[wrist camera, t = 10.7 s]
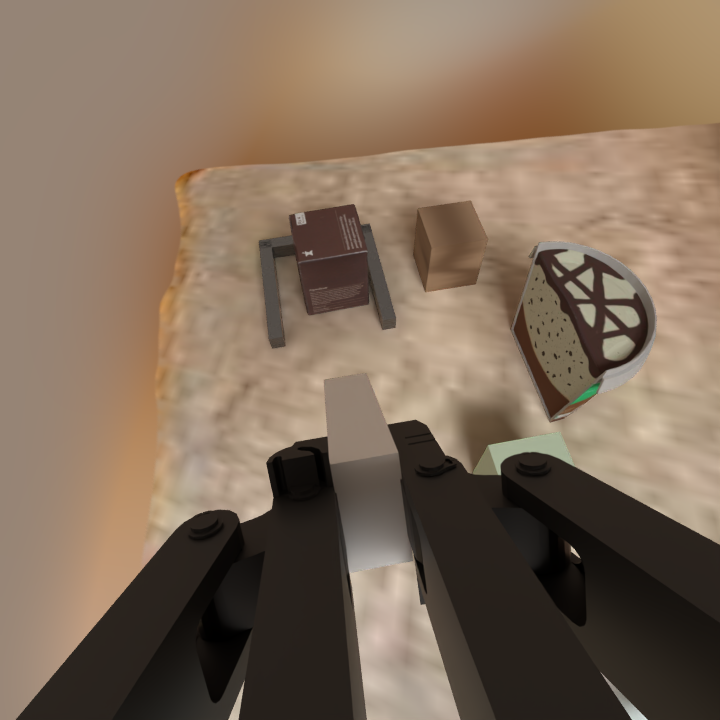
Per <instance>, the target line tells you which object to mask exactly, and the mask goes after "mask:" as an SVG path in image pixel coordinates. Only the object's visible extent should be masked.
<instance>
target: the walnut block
mask: <svg viewBox="0 0 720 720" xmlns="http://www.w3.org/2000/svg"><path fill="white" fill-rule="evenodd" d="M487 241H488V238H487V236H486V234H485V231H484V229H483V227H482V225H481V222H480V220H479V218H478V216H477V213H476V211H475V209H474V207H473V204H472V202H471V201H465V202H458V203H452V204H445V205H438V206H431V207H425V208H418V212H417V223H416V233H415V244H414V254H413V255H414V258H415V261H416V264H417V267H418V270H419V273H420V276H421V280H422V283H423V286H424V289H425V292H430V291H436V290H442V289H448V288H455V287H461V286H467V285H473V284H476V281H477V277H478V274H479V270H480V266H481V263H482V259H483V256H484V252H485V248H486V245H487Z"/></svg>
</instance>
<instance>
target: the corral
mask: <svg viewBox="0 0 720 720" xmlns="http://www.w3.org/2000/svg"><path fill="white" fill-rule="evenodd" d="M361 228H362V231H363V235H364V238H365V242H366V246H367V250H368V255H367V259H368V275H369V279H370V283H371V287H372V290H373V294H374V298H375V302H376V306H377V310H378V314H379V318H380V322H381V326H382V329H383V330H384V329H390V328H395V325H396V316H395V313H394V309H393V306H392V302H391V299H390V295H389V291H388V288H387V284H386V281H385V277H384V273H383V270H382V266H381V263H380V259H379V255H378V252H377V248H376V245H375V241H374V238H373V234H372V230H371V227H370V224H364V225H361ZM259 247H260V256H261V266H262V276H263V286H264V295H265V305H266V315H267V324H268V334H269V341H270V344H271V346H272V348H278V347H284V346H285V339H284V331H283V323H282V315H281V307H280V298H279V290H278V282H277V274H276V266H275V258H277V257H283V256H290V255H295V249H294V244H293V239H292V236H286V237H279V238H273V239H266V240H260V241H259Z"/></svg>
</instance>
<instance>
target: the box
mask: <svg viewBox="0 0 720 720" xmlns="http://www.w3.org/2000/svg"><path fill="white" fill-rule="evenodd" d="M289 220H290V226H291V232H292V239H293V244H294V249H295V255H296V260H297V265H298V270H299V275H300V280H301V285H302V290H303V294H304V299H305V304H306V308H307V313H308V314H309V315H313V314H319V313H324V312H329V311H335V310H340V309H345V308H351V307H357V306H362V305H367V304H369V287H368V286H369V285H368V259H367V255H368V250H367V246H366V242H365V238H364V235H363V231H362V228H361V224H360V221H359V218H358V214H357V211H356V208H355V205H354V204H351V205H345V206H339V207H333V208H328V209H322V210H315V211H309V212H302V213H297V214H293V215H289Z"/></svg>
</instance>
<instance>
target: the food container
mask: <svg viewBox="0 0 720 720" xmlns="http://www.w3.org/2000/svg"><path fill="white" fill-rule="evenodd" d="M529 258H533V261H532V264H531V267H530V270H529V273H528V276H527V279H526V283H525V286H524V289H523V292H522V295H521V298H520V302H519V305H518V308H517V311H516V314H515V317H514V320H513V324H512V327H511V332H512V334H513V337H514V339H515V341H516V344H517V346H518V348H519V351H520V353H521V355H522V358H523V360H524V362H525V365H526V367H527V369H528V372H529V374H530V377H531V379H532V381H533V384H534V386H535V388H536V391H537V393H538V395H539V398H540V400H541V402H542V405H543V407H544V409H545V412H546V414H547V417H548V419H549V421H550V422H553V421H557V420H561V419H564V418H565V417H567V416H568V415H570V414H571V413H573V412H574V411H576V410H577V409H578V408H580V407H581V406H582V405H583V404H585V403H586V402H587V401H588V400H589V399H591V398H592V397H593V396H594V395H596V394H599V393H603V392H606V391H610V390H612V389H614V388H617V387H619V386H621V385H623V384H624V383H626V382H627V381H628V380H630V379H631V378H633V377H634V376H635V374H636V373H637V372H638V371H639V370H640V369H641V367H642V366H643V364H644V362H645V361H646V359H647V357H648V355H649V352H650V350H651V348H652V346H653V342H654V339H655V336H656V322H657V317H656V310H655V306H654V303H653V300H652V297H651V296H650V294H649V292H648V290H647V288H646V287H645V285H644V284H643V283H642V282H641V280H640V279H639V278H638V277H637V276H636V275H635V274H634V273H633V272H632V271H631V270H630V269H629V268H628V267H626V266H625V265H624V264H622V263H621V262H620V261H618V260H616V259H615V258H613V257H611V256H610V255H608V254H605V253H603V252H601V251H599V250H596V249H593V248H591V247H588V246H584V245H580V244H576V243H569V242H555V241H549V242H539V243H538V246H535V247H534V249H533V250H532V252H531V254H530V255H529Z"/></svg>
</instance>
